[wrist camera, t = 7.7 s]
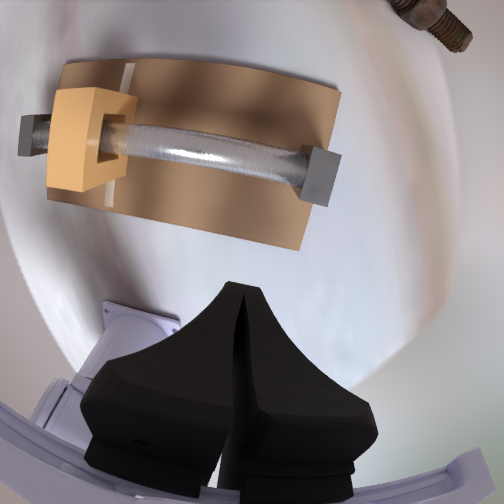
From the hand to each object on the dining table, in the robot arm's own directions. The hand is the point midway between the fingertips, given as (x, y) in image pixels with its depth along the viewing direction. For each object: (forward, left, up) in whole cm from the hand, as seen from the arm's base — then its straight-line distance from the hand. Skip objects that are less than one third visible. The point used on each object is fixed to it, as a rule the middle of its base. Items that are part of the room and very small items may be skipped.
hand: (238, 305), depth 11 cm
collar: (+5, +11, -9) cm, 15 cm away
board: (+5, +7, -10) cm, 13 cm away
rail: (+5, +7, -10) cm, 13 cm away
